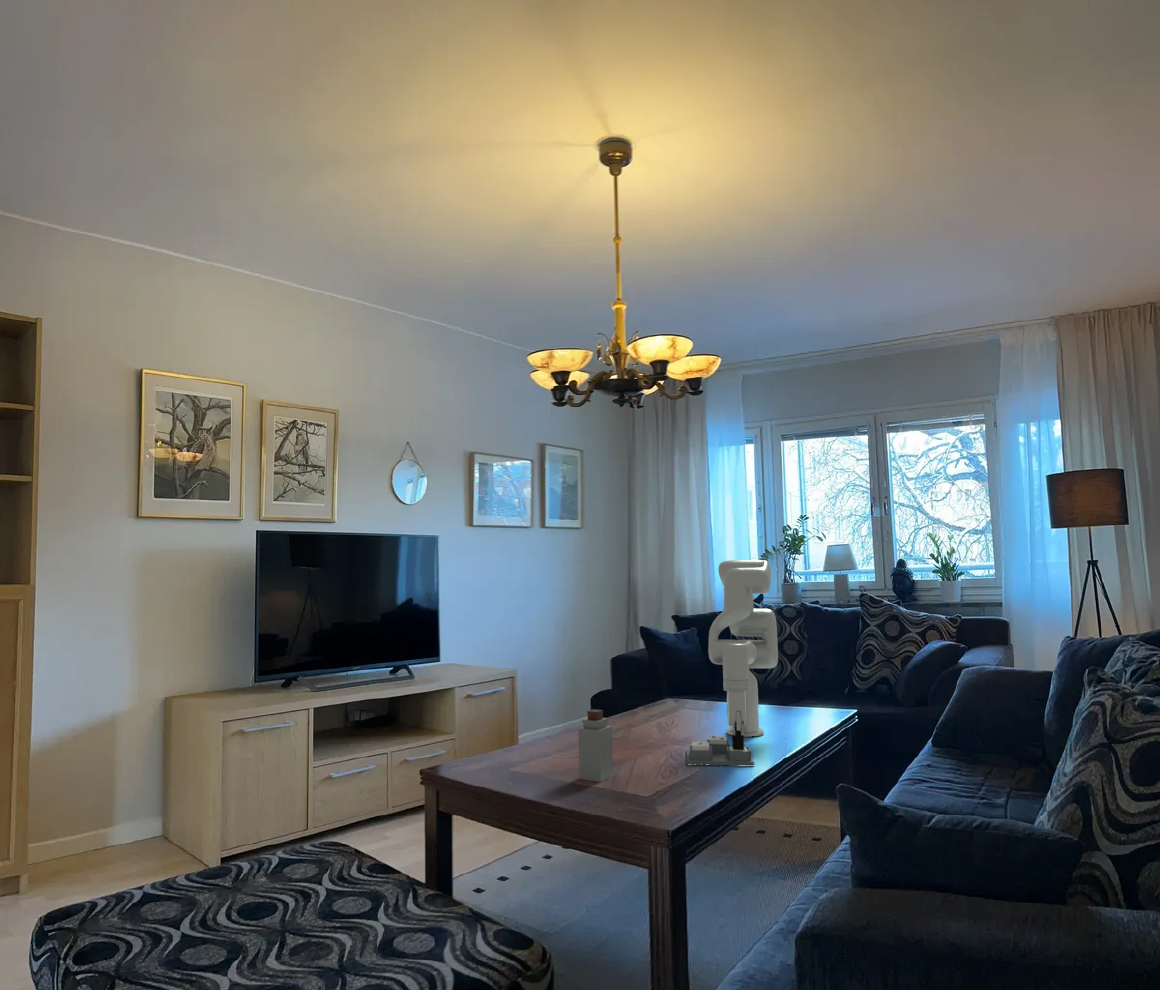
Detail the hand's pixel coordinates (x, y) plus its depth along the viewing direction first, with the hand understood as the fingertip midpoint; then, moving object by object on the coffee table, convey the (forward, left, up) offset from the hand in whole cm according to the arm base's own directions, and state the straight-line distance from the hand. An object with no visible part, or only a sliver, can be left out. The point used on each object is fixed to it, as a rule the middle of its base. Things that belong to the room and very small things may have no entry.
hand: (738, 748), depth 232 cm
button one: (0, -11, -1) cm, 11 cm away
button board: (-4, -5, -4) cm, 8 cm away
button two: (-9, -5, -1) cm, 10 cm away
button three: (0, 0, -2) cm, 2 cm away
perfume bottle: (+20, -40, -4) cm, 45 cm away
